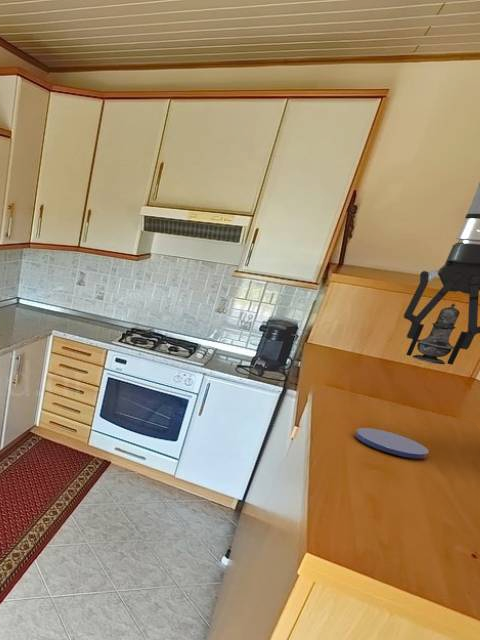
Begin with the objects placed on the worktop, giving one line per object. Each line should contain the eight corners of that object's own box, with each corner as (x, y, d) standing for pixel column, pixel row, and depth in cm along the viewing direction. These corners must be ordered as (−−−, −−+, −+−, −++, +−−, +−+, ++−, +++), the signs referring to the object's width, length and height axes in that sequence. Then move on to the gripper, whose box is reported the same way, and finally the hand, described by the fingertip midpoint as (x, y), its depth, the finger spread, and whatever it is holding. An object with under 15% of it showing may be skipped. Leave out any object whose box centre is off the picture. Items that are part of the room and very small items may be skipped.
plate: (441, 462, 98) (444, 456, 98) (386, 458, 97) (389, 452, 97) (390, 436, 110) (393, 430, 109) (340, 432, 109) (343, 426, 108)
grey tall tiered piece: (425, 356, 105) (450, 301, 101) (454, 365, 99) (482, 307, 95) (402, 355, 104) (427, 299, 100) (431, 363, 98) (458, 305, 94)
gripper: (416, 237, 97) (371, 349, 105) (556, 250, 85) (493, 375, 93) (417, 238, 102) (374, 344, 110) (549, 251, 90) (490, 369, 98)
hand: (429, 358), depth 101 cm, fingers closed on grey tall tiered piece, 6 cm apart
